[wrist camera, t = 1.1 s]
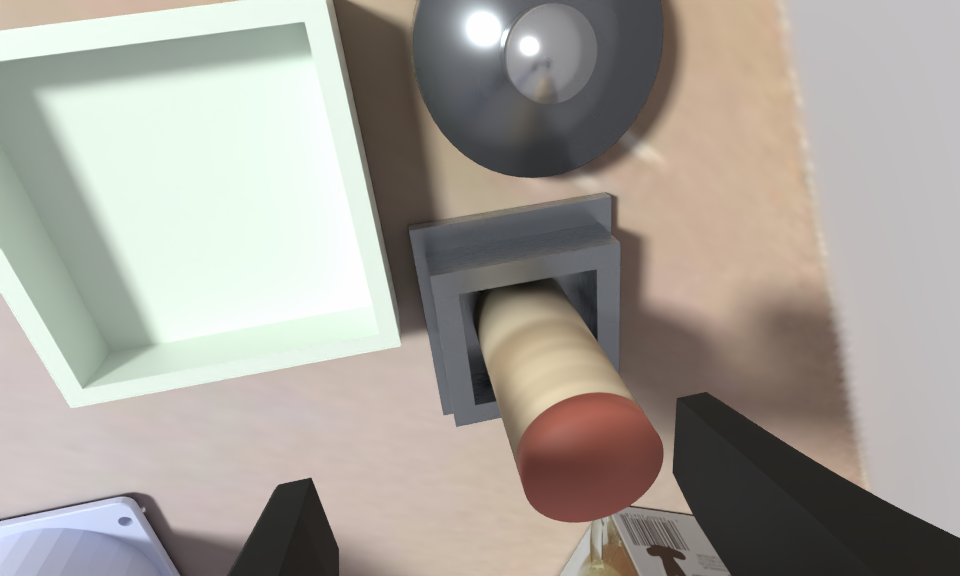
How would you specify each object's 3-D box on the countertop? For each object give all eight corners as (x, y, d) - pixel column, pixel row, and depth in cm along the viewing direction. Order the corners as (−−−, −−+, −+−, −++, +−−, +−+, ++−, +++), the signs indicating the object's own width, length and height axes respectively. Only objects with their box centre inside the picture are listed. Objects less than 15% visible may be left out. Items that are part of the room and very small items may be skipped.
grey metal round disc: (633, 145, 19) (673, 167, 16) (430, 178, 18) (439, 205, 15) (639, -105, 15) (689, -126, 13) (389, -76, 15) (392, -92, 12)
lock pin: (569, 345, 21) (660, 505, 15) (479, 362, 21) (528, 535, 14) (566, 262, 20) (667, 400, 13) (467, 280, 19) (517, 431, 12)
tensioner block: (606, 374, 23) (628, 409, 21) (442, 407, 22) (448, 447, 20) (606, 192, 19) (632, 214, 17) (408, 225, 19) (412, 252, 17)
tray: (398, 308, 20) (401, 346, 18) (106, 361, 19) (70, 408, 17) (331, -8, 15) (323, -10, 13) (-66, 42, 14) (-147, 49, 12)
